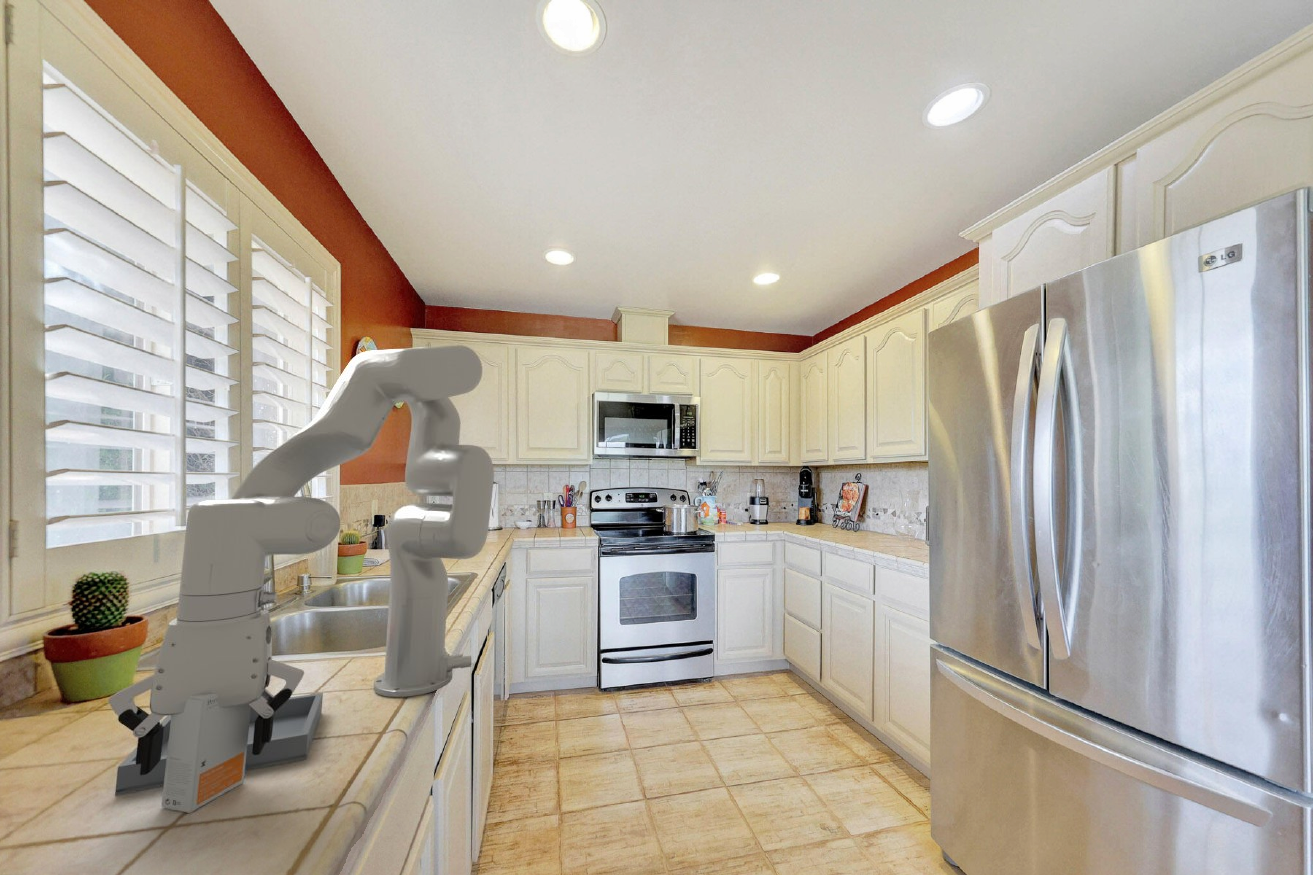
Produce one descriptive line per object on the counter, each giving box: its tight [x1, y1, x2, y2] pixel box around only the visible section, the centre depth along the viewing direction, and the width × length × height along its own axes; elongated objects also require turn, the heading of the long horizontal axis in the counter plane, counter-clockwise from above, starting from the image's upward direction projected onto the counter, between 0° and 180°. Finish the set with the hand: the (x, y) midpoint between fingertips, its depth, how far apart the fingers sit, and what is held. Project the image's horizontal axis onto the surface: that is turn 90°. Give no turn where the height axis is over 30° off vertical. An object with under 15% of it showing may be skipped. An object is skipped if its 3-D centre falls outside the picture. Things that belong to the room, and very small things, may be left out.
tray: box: [114, 692, 324, 797], centre depth 68 cm, size 18×14×3 cm
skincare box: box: [161, 694, 251, 814], centre depth 58 cm, size 6×4×12 cm
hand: (206, 758), depth 58 cm, fingers open, 9 cm apart
